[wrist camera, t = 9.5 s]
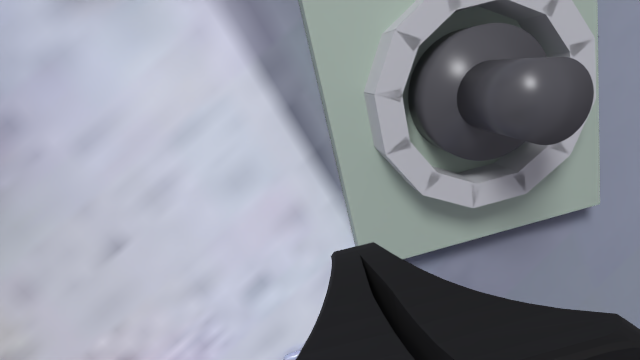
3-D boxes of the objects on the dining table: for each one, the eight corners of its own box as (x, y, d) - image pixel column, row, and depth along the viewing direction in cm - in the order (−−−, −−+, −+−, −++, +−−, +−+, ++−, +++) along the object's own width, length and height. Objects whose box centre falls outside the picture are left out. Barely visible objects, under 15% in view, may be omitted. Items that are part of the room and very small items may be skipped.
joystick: (527, 135, 20) (632, 161, 14) (418, 165, 19) (481, 204, 14) (518, 14, 18) (634, -13, 12) (398, 45, 18) (459, 32, 12)
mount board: (579, 195, 23) (632, 217, 19) (358, 257, 22) (373, 290, 19) (569, -108, 18) (637, -149, 15) (288, -42, 17) (291, -69, 14)
